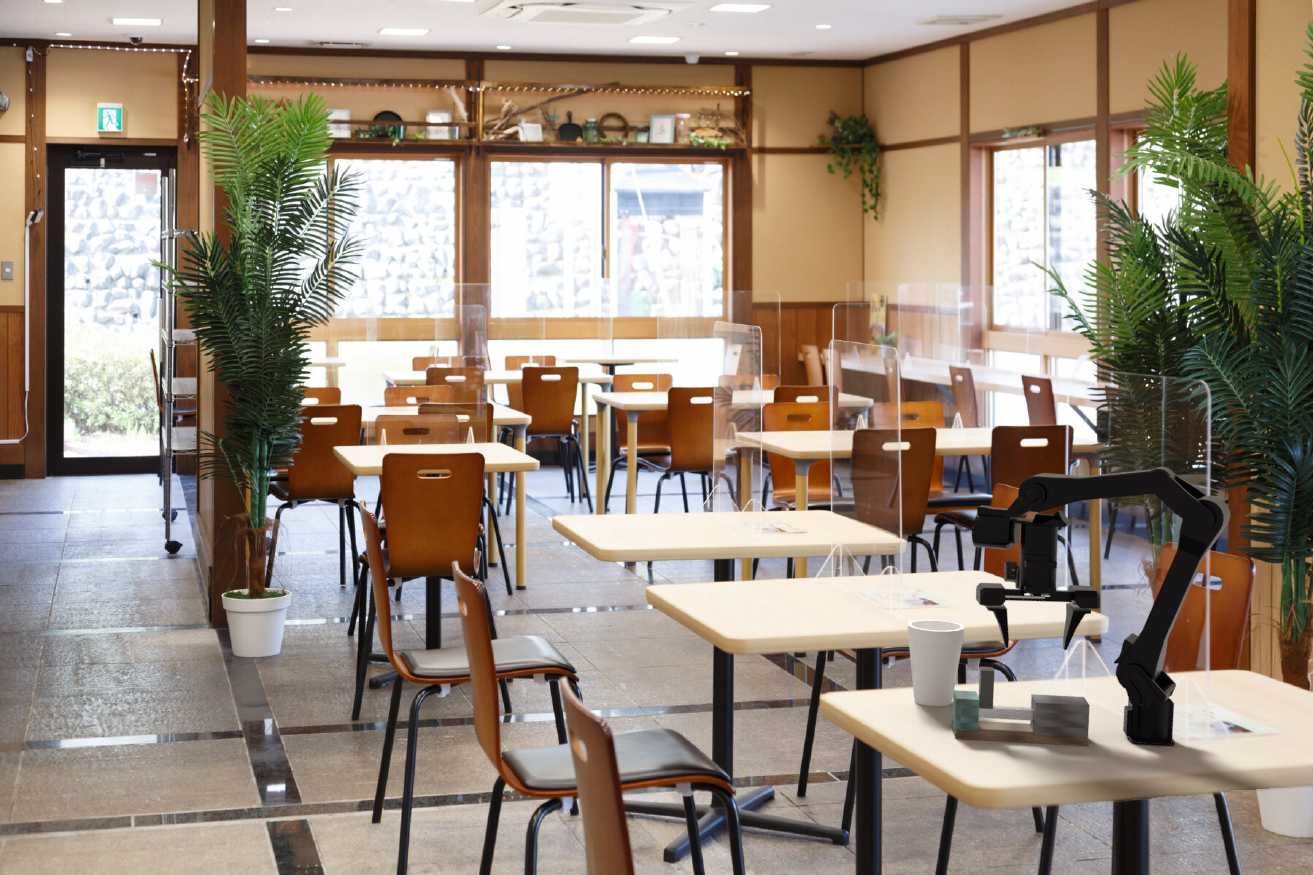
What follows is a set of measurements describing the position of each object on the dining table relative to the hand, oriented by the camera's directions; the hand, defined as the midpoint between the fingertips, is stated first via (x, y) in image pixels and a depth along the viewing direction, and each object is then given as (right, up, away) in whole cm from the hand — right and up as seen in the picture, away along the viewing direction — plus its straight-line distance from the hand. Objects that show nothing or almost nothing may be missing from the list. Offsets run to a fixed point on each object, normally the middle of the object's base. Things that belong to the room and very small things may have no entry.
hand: (1035, 648), depth 230 cm
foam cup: (-14, -11, +12) cm, 21 cm away
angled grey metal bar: (-7, -10, -7) cm, 14 cm away
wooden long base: (-5, -12, -8) cm, 15 cm away
